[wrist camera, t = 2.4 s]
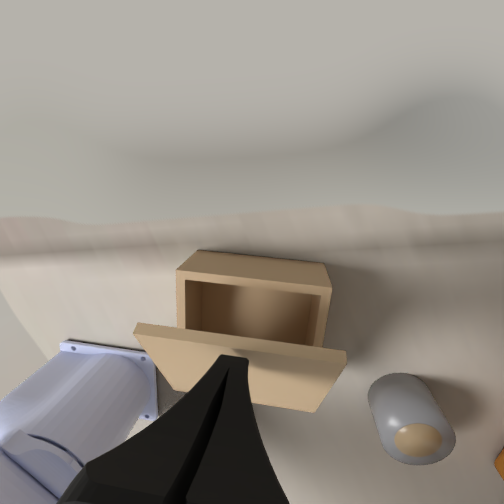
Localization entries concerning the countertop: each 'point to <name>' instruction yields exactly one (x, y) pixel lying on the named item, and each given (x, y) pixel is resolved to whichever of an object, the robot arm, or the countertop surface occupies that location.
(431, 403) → the grey rounded cylinder
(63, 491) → the robot arm
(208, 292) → the box
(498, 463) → the coffee package
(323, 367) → the lid
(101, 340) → the countertop surface
